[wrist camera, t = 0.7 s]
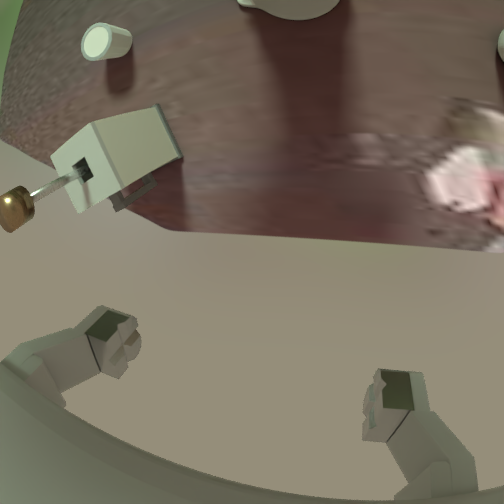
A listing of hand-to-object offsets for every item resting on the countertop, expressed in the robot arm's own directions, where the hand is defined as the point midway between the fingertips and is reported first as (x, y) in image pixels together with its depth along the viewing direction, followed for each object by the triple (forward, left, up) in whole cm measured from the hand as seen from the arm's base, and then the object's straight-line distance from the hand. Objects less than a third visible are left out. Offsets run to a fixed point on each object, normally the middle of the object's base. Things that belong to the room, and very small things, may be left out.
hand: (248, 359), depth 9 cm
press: (-9, -26, -41) cm, 49 cm away
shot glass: (-30, -23, -42) cm, 56 cm away
